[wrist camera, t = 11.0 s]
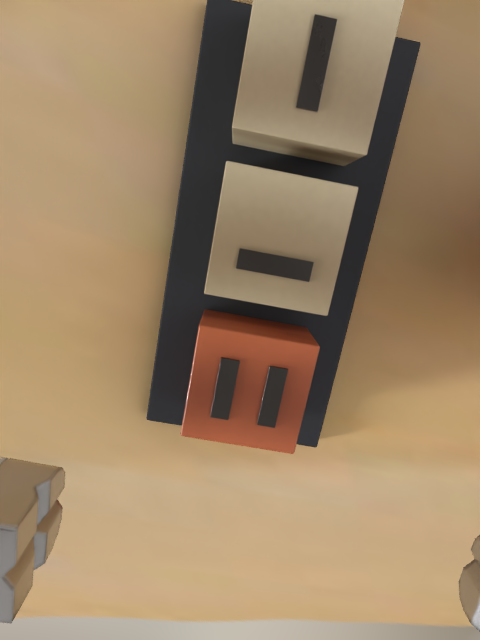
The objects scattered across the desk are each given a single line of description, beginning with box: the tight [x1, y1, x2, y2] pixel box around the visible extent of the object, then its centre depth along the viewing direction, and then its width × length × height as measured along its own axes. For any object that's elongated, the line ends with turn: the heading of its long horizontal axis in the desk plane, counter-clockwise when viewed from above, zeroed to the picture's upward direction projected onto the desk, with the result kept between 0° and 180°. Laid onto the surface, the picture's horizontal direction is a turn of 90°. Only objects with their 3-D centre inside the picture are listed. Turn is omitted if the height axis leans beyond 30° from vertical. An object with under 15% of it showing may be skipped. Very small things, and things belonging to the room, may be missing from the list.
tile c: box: [232, 0, 404, 166], centre depth 14 cm, size 4×4×3 cm
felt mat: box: [147, 0, 420, 447], centre depth 17 cm, size 17×8×1 cm, turn 170°
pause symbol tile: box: [181, 309, 320, 454], centre depth 16 cm, size 4×4×3 cm
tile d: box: [204, 161, 358, 316], centre depth 15 cm, size 4×4×3 cm
